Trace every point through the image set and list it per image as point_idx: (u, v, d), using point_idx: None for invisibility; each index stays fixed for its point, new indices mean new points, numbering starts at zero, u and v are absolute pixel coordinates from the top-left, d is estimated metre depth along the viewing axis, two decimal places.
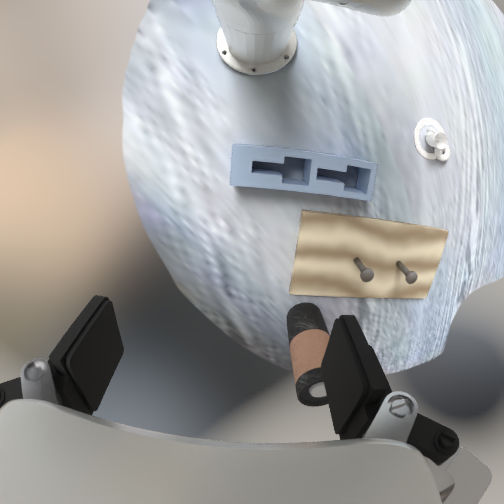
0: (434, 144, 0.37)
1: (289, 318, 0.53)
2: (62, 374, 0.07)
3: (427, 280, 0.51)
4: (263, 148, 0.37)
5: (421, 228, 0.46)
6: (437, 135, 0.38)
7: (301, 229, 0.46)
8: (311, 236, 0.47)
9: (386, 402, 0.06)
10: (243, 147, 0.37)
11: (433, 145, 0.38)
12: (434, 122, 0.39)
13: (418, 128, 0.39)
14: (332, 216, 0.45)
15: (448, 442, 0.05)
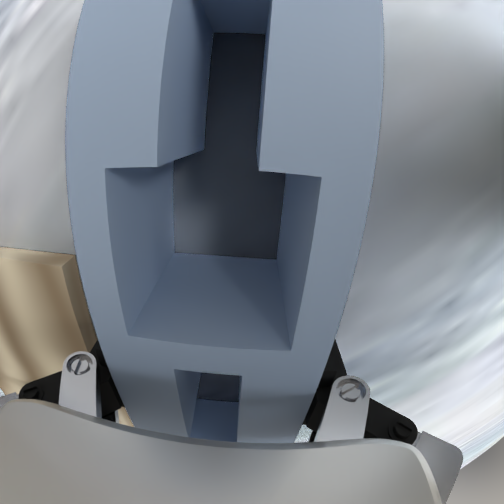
0: None
1: None
2: (107, 366, 0.08)
3: None
4: (375, 29, 0.03)
5: None
6: None
7: (19, 263, 0.10)
8: (17, 294, 0.10)
9: (335, 385, 0.07)
10: None
11: None
12: None
13: None
14: None
15: (404, 432, 0.06)
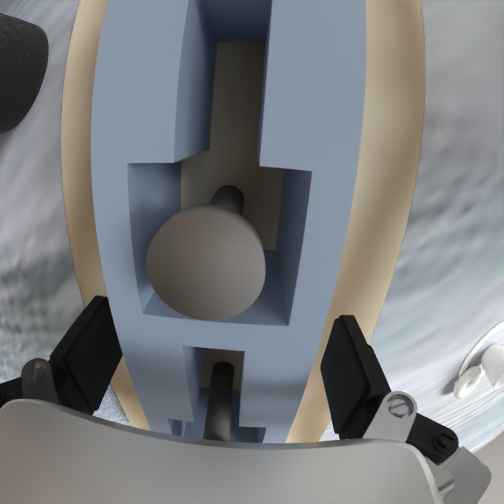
0: None
1: None
2: (63, 374, 0.07)
3: None
4: (358, 44, 0.04)
5: None
6: None
7: None
8: None
9: (385, 402, 0.06)
10: None
11: (499, 365, 0.15)
12: None
13: None
14: (420, 81, 0.08)
15: (447, 442, 0.05)
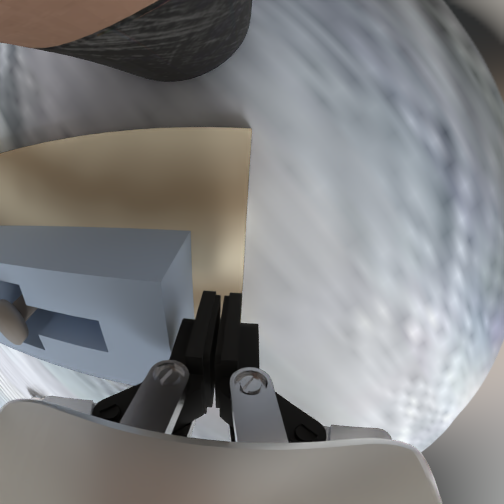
0: None
1: (245, 22, 0.08)
2: (194, 373, 0.08)
3: None
4: (95, 374, 0.11)
5: None
6: None
7: None
8: None
9: (235, 375, 0.07)
10: None
11: None
12: None
13: None
14: None
15: (307, 436, 0.06)
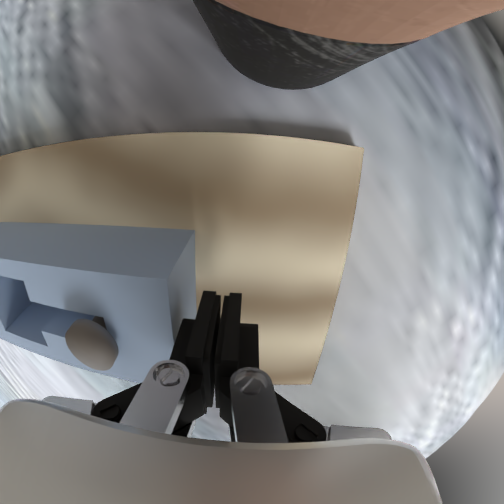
0: None
1: None
2: (194, 373, 0.08)
3: None
4: (98, 371, 0.11)
5: None
6: None
7: (317, 354, 0.17)
8: (292, 343, 0.17)
9: (235, 375, 0.07)
10: None
11: None
12: None
13: None
14: None
15: (307, 436, 0.06)
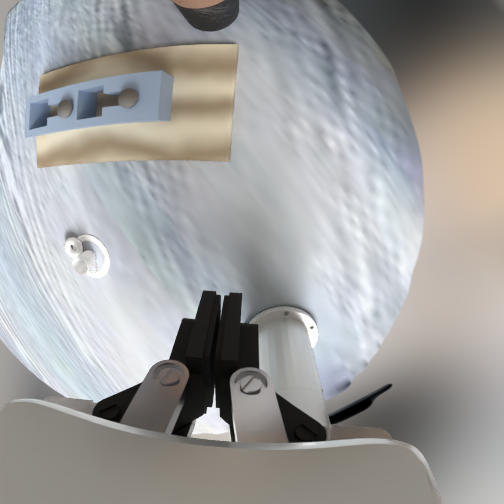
0: (85, 259, 0.37)
1: (236, 11, 0.24)
2: (194, 373, 0.08)
3: None
4: (123, 120, 0.27)
5: (70, 162, 0.33)
6: (84, 264, 0.40)
7: (229, 137, 0.33)
8: (214, 128, 0.32)
9: (235, 375, 0.07)
10: (145, 118, 0.27)
11: (86, 256, 0.38)
12: (90, 274, 0.42)
13: (105, 264, 0.41)
14: (189, 157, 0.34)
15: (307, 436, 0.06)
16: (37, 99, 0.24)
